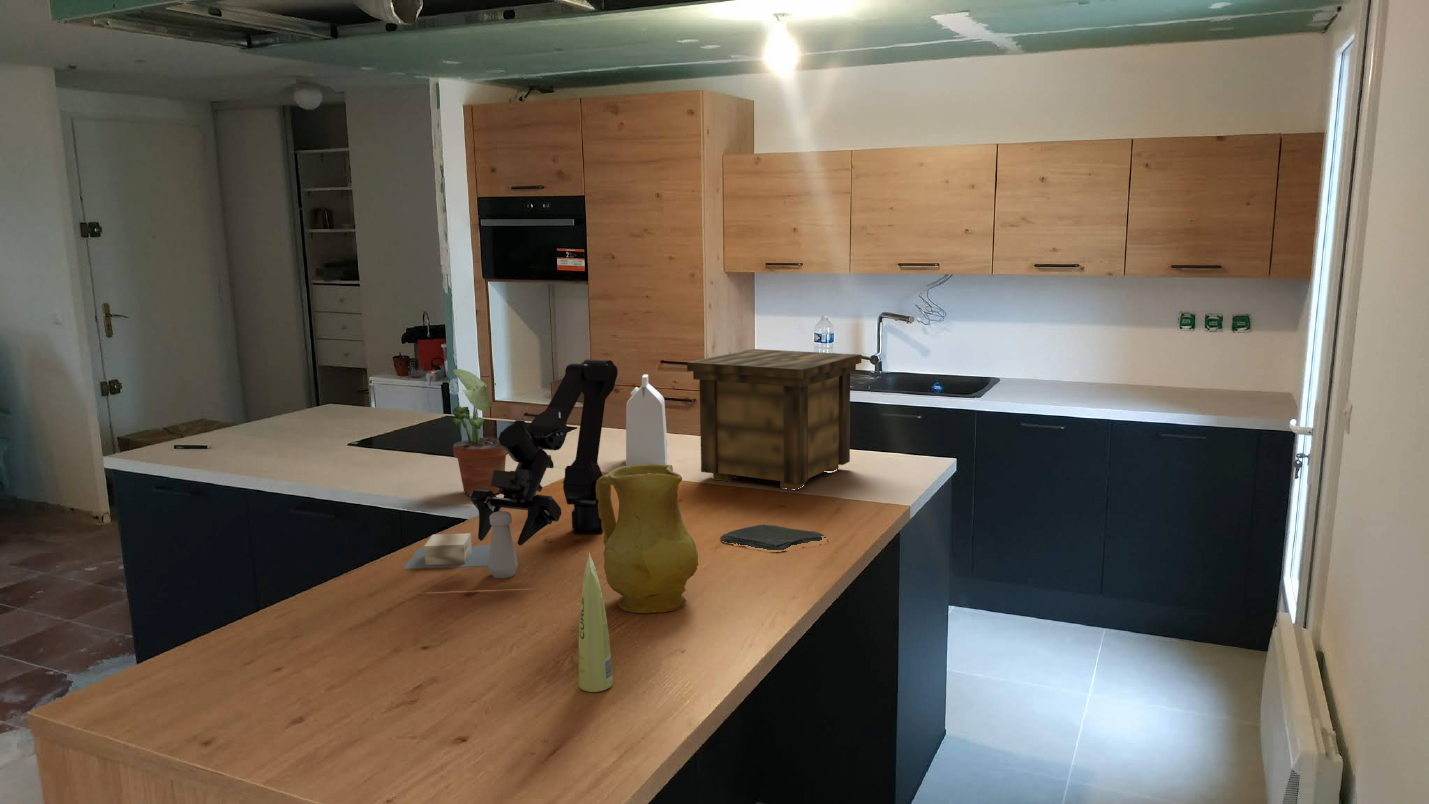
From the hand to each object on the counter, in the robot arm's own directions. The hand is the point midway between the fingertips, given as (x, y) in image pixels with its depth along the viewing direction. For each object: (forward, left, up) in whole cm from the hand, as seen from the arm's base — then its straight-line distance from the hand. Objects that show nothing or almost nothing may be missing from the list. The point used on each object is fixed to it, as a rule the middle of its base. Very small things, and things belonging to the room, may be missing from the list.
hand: (499, 542), depth 196 cm
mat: (+12, -14, -7) cm, 19 cm away
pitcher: (-29, +15, -7) cm, 34 cm away
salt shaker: (0, -1, -7) cm, 8 cm away
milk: (-28, -99, -7) cm, 103 cm away
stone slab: (-56, -18, -8) cm, 60 cm away
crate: (-64, -79, -7) cm, 102 cm away
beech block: (+13, -13, -7) cm, 19 cm away
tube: (-21, +50, -7) cm, 55 cm away
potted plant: (+15, -68, -7) cm, 70 cm away
